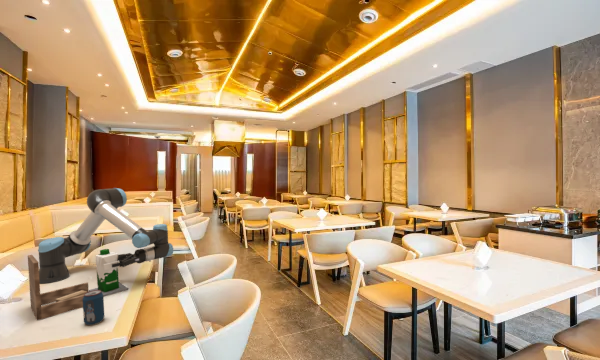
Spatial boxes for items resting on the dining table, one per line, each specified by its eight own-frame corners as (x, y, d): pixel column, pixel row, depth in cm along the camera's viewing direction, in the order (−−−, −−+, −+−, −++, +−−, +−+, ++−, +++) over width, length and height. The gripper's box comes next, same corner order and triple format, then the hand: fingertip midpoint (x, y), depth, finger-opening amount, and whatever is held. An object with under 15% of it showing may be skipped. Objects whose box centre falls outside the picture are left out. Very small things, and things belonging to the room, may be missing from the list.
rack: (87, 291, 155) (85, 245, 154) (98, 302, 141) (96, 251, 141) (30, 307, 139) (27, 255, 138) (37, 320, 125) (33, 263, 125)
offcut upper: (55, 304, 136) (55, 299, 136) (82, 295, 146) (82, 290, 146) (60, 305, 135) (60, 300, 135) (87, 296, 145) (86, 291, 145)
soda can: (102, 316, 127) (100, 287, 127) (106, 321, 123) (105, 292, 122) (82, 322, 122) (80, 293, 122) (86, 328, 118) (84, 297, 117)
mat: (119, 283, 166) (119, 282, 166) (128, 289, 156) (128, 288, 156) (88, 291, 155) (88, 290, 155) (96, 298, 146) (96, 297, 146)
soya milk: (113, 284, 162) (111, 247, 161) (122, 287, 157) (120, 249, 156) (95, 290, 155) (93, 251, 154) (103, 293, 150) (101, 253, 149)
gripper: (153, 265, 160) (107, 277, 145) (136, 258, 177) (93, 267, 162) (152, 251, 160) (106, 261, 144) (135, 245, 177) (92, 253, 161)
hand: (99, 264), depth 153 cm, fingers open, 13 cm apart
